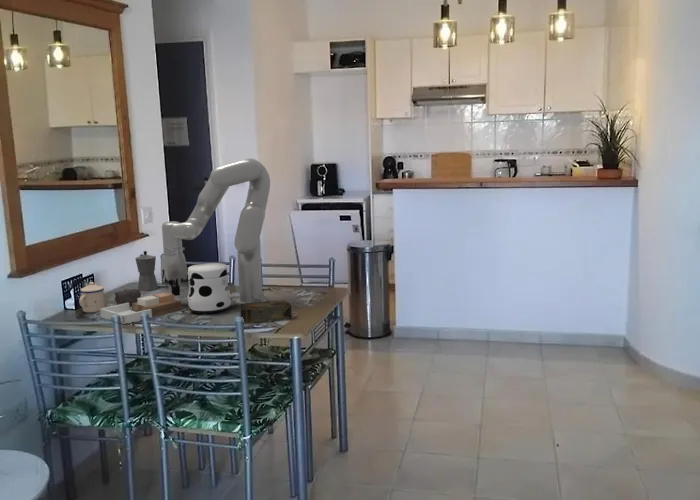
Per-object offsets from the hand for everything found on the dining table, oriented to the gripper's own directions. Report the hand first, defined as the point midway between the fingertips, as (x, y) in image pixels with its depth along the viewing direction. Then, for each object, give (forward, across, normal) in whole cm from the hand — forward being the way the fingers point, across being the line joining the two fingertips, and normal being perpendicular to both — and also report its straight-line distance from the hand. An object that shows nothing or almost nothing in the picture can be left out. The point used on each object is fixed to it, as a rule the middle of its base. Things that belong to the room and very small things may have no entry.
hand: (176, 295), depth 273 cm
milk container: (+5, -5, +17) cm, 18 cm away
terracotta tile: (+1, +6, 0) cm, 6 cm away
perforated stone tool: (+5, +11, -19) cm, 23 cm away
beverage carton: (+5, -10, +46) cm, 47 cm away
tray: (+5, +23, 0) cm, 23 cm away
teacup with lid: (+5, +26, -22) cm, 35 cm away
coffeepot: (+5, -10, -42) cm, 43 cm away
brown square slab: (+5, +9, 0) cm, 10 cm away
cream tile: (+1, +13, 0) cm, 13 cm away
